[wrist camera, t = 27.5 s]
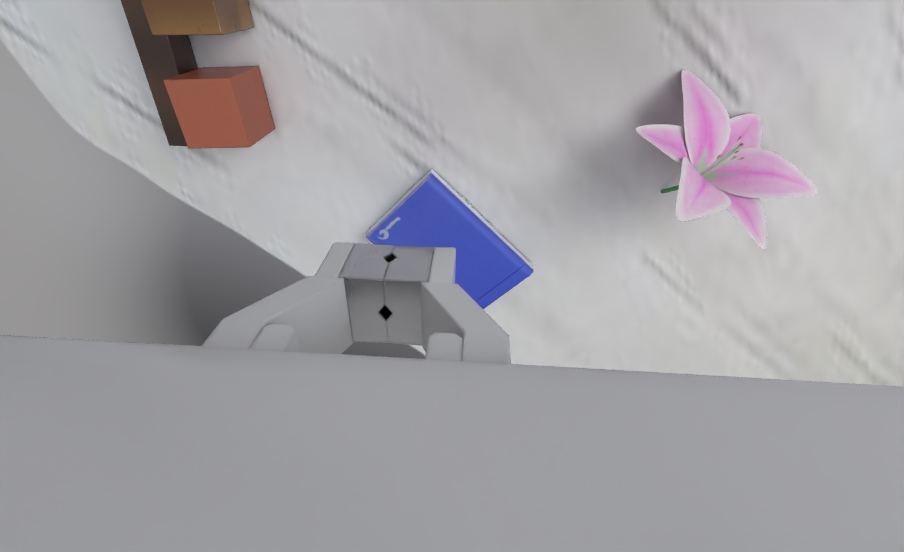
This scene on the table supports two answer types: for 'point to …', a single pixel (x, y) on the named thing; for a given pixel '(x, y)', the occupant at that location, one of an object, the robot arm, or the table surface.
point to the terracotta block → (221, 106)
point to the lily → (724, 162)
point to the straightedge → (160, 64)
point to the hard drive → (453, 238)
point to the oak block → (197, 16)
